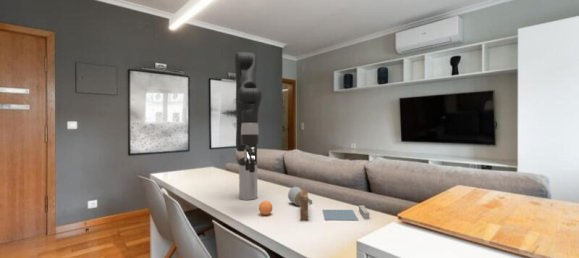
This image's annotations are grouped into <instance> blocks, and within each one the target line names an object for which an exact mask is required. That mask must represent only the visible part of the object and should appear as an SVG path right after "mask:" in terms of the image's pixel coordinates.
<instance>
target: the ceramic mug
mask: <svg viewBox="0 0 579 258" xmlns="http://www.w3.org/2000/svg"><path fill="white" fill-rule="evenodd" d="M300 189H301V188H300V187H299V186H293V187H291V188H290V189H289V191H288V193H287V198H288V201H290V202H291V203H293V204H295V205H296V206H299V207H300ZM312 203H313V200H312V199H310V198H309V197H308V204H312Z"/></svg>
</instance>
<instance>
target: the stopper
mask: <svg viewBox="0 0 579 258" xmlns="http://www.w3.org/2000/svg"><path fill="white" fill-rule="evenodd" d="M358 212H359V213H360V215H361V216H362V218H363V220H370V212H369V210H368V209H367V208H366V206H365V205H358Z"/></svg>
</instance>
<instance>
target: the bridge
mask: <svg viewBox="0 0 579 258" xmlns="http://www.w3.org/2000/svg"><path fill="white" fill-rule="evenodd" d="M308 193H309V191H308V188H304V187H303V188H300V206H299V209H300V211H299V212H300V215H299V216H300V220H299V221H301V222H307V221H309V203H308V198H309V194H308Z"/></svg>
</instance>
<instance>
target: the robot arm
mask: <svg viewBox="0 0 579 258" xmlns="http://www.w3.org/2000/svg"><path fill="white" fill-rule="evenodd" d="M257 66H258V60H257V54H256V53H255V52H250V51H249V52H248V51H237V52H235V55H234V68H235V70H234V71H235V112H236V114H235V115H236V129H235V130H236V131H235V149H236V151H237V152H243V156H244V157H241V158H240V159H239V160H238V166H239V167H238V172H239V173H238V174H239V175H238V183H239V184H238V185H239V190H238V191H239V193H238V194H239V195H238V196H239V199H240V200H243V201H252V200H255V199H258V145H259V141H260V140H259V138H260V137H259V122H258V121H259V109H260V105H261V102H262V98H263V92H262V91H261V89H260V88H257V87H258V85H257V78H256V77H257ZM242 71H244V72H242Z"/></svg>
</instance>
